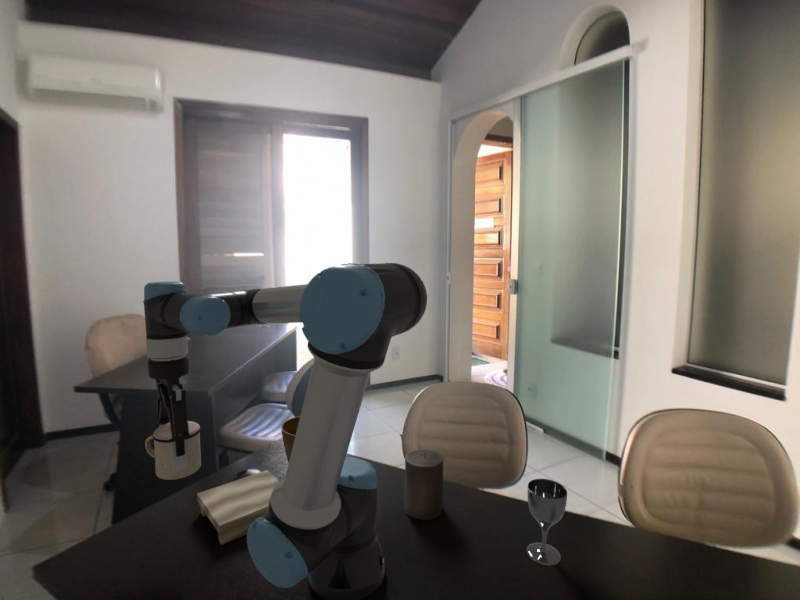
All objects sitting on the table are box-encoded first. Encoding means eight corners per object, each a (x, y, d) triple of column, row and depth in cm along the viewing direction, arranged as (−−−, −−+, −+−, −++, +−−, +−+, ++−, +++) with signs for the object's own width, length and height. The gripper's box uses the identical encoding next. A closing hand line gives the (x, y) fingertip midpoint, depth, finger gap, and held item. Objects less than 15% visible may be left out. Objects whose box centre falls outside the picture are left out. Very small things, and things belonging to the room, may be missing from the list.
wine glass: (537, 570, 88) (541, 501, 87) (517, 544, 96) (520, 481, 94) (571, 563, 90) (575, 496, 89) (548, 538, 98) (552, 476, 96)
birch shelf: (295, 514, 105) (295, 495, 105) (219, 547, 94) (219, 525, 93) (267, 487, 117) (267, 469, 117) (197, 512, 106) (196, 493, 105)
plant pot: (299, 499, 112) (298, 441, 110) (272, 477, 123) (271, 423, 121) (346, 479, 122) (346, 425, 120) (317, 460, 133) (317, 410, 131)
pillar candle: (449, 515, 106) (451, 457, 105) (414, 524, 102) (415, 464, 101) (430, 495, 115) (432, 441, 114) (397, 503, 111) (398, 447, 109)
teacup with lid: (211, 461, 96) (209, 411, 95) (184, 483, 87) (182, 428, 86) (162, 457, 98) (159, 407, 96) (131, 477, 89) (128, 423, 87)
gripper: (204, 364, 83) (208, 475, 85) (174, 345, 99) (179, 438, 102) (160, 371, 78) (166, 488, 81) (137, 349, 94) (143, 447, 97)
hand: (173, 460), depth 91 cm, fingers closed on teacup with lid, 9 cm apart
